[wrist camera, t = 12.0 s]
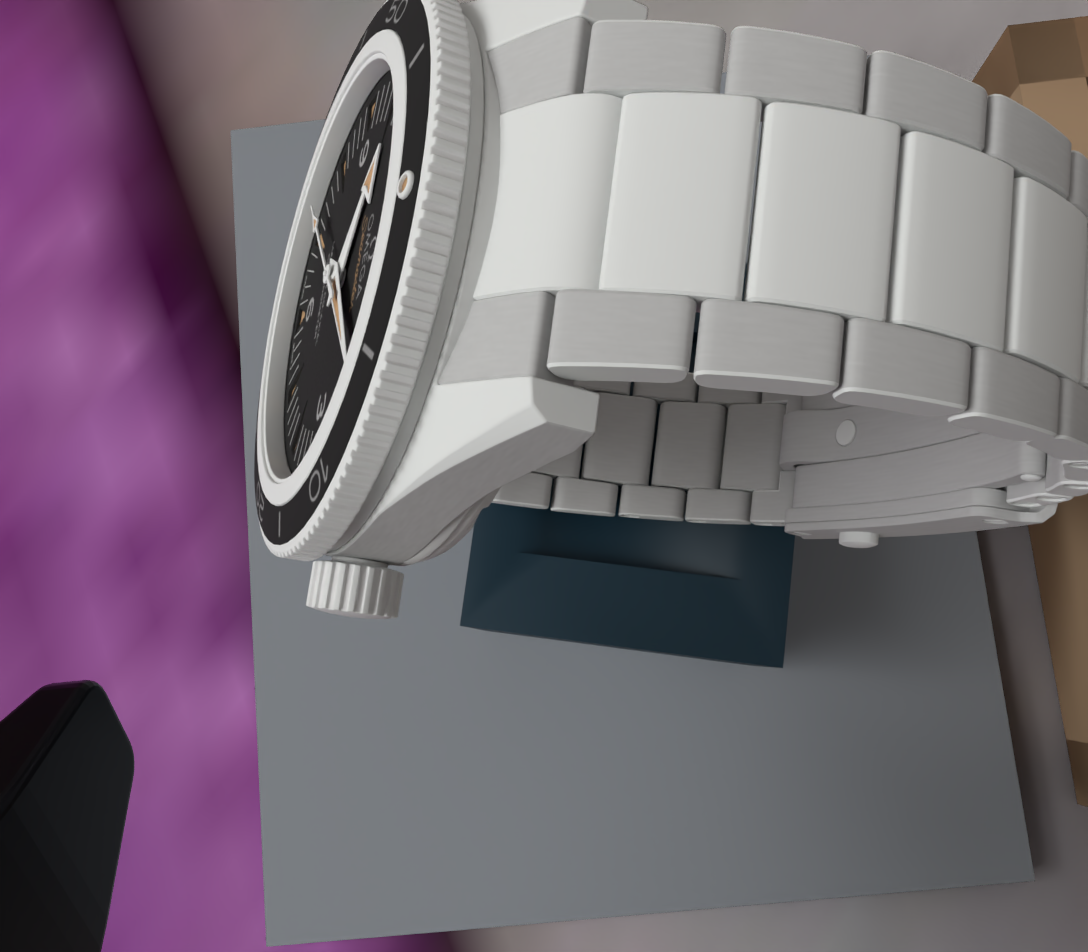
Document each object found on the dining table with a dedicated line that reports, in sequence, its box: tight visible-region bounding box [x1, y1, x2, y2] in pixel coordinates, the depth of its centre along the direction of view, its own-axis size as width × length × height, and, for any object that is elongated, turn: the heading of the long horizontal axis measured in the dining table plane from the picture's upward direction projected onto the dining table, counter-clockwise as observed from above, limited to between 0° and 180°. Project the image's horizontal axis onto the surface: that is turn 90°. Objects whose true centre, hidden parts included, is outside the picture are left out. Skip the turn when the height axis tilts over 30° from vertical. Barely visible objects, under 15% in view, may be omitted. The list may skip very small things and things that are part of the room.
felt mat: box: [231, 55, 1035, 947], centre depth 17 cm, size 14×12×1 cm
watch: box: [254, 0, 1088, 668], centre depth 12 cm, size 6×8×11 cm
